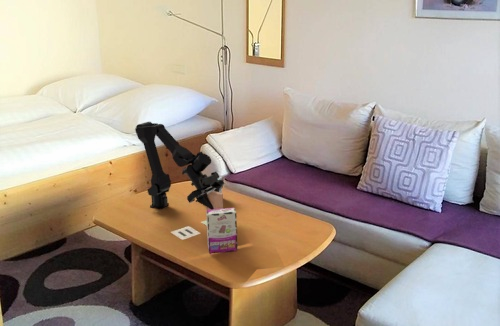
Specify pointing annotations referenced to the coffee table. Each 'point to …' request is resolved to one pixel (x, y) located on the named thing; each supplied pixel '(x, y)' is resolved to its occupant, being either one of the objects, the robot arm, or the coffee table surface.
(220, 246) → the candy bar box
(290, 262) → the coffee table surface
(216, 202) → the terracotta block
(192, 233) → the mat
